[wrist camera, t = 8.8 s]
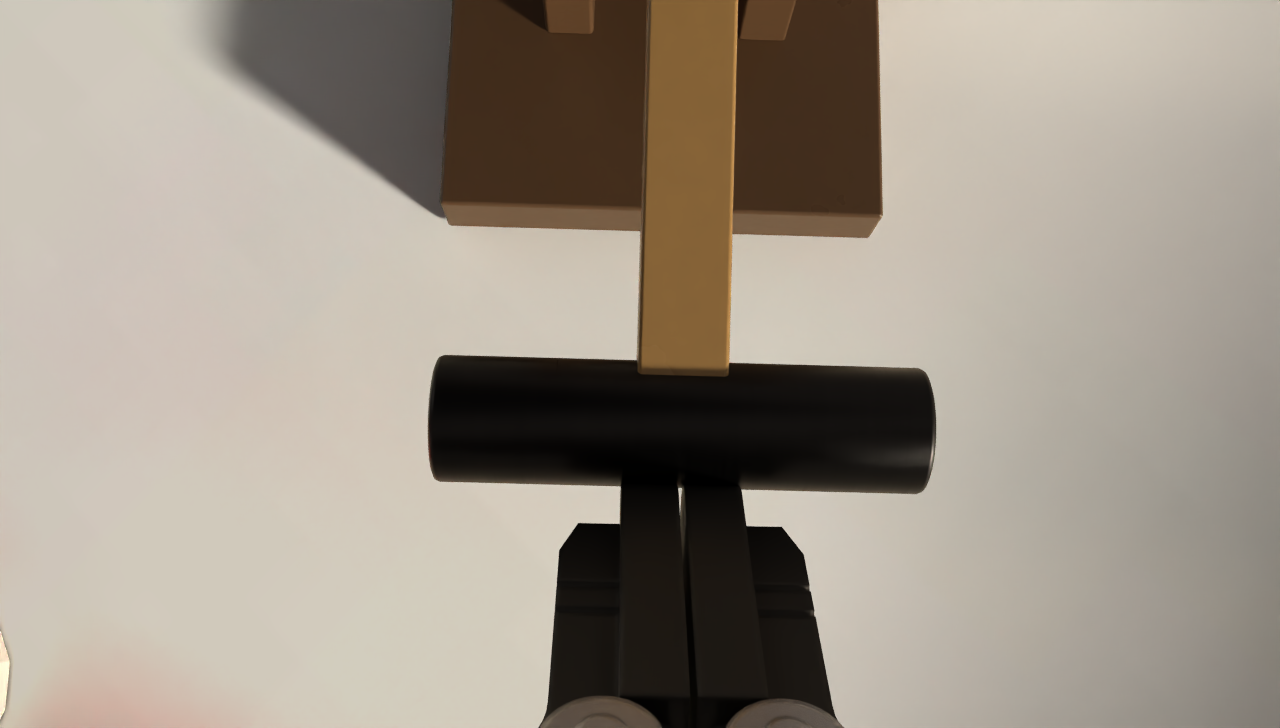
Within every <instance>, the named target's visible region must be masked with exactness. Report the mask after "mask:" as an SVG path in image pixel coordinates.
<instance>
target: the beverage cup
mask: <svg viewBox="0 0 1280 728" xmlns="http://www.w3.org/2000/svg"><path fill="white" fill-rule="evenodd" d="M9 666H10V660H9V657H8V654H7V651H6V647H5V644H4V641H3V637H2V634H1V631H0V719H1V717H2V715H3V713H4V711H5V706H6V696H7V686H8V676H9Z"/></svg>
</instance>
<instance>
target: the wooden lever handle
mask: <svg viewBox="0 0 1280 728" xmlns="http://www.w3.org/2000/svg"><path fill="white" fill-rule="evenodd" d="M737 28H738V0H647V7H646V44H645V80H644V117H643V153H642V190H641V226H640V263H639V299H638V336H637V360H605V359H570V358H534V357H498V356H462V355H443V356H441V357H439V358H438V360H437V362H436V365H435V367H434V371H433V375H432V381H431V388H430V397H429V410H428V450H429V461H430V467H431V471H432V474H433V477H434V479H436V480H438V481H440V482H478V483H516V484H554V485H592V486H621V484H657V485H678V488H682V487H683V485H715V486H740V487H741V489H745V490H783V491H822V492H860V493H898V494H917V493H920V492H922V491H923V490H924V489H925V487H926V486H927V483H928V481H929V478H930V475H931V471H932V467H933V462H934V456H935V446H936V410H935V401H934V395H933V391H932V387H931V383H930V380H929V378H928V376H927V374H926V373H925V372H924V371H923V370H921V369H919V368H892V367H856V366H820V365H785V364H749V363H729V350H730V310H731V270H732V230H733V189H734V149H735V109H736V68H737Z"/></svg>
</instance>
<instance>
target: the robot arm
mask: <svg viewBox="0 0 1280 728" xmlns="http://www.w3.org/2000/svg"><path fill="white" fill-rule="evenodd" d="M809 586H810V585H809V580H808V575H807V570H806V564H805V559H804V554H803V553H802V552H801V551H800V549H799V548H798V547H797V546H796V544H795V543H794V542H793V541H792V539H791V538H790V537H789V536H788V534H787V533H786V532H785V530H784V529H783V528H782V527H754V526H746V521H745V513H744V506H743V498H742V491H741V487H740V486H715V485H683V487H682V495H681V510H680V511H679V493H678V485H657V484H621V495H620V524H590V523H578V524H577V526H576V527H575V529H574V530H573V532H572V533H571V534H570V536H569V537H568V539H567V540H566V542H565V543H564V544H563V546H562V547H561V549H560V550H559V563H558V576H557V589H556V602H555V616H554V629H553V642H552V655H551V669H550V682H549V695H548V705H547V710H546V713H545V716H544V719H543V721H542V723H541V724H540V726H539V728H844V727H843V726H842V725H841V724H840V723H839V722H838V720H837V718H836V716H835V713H834V710H833V706H832V701H831V696H830V691H829V685H828V680H827V675H826V670H825V664H824V659H823V654H822V649H821V643H820V638H819V633H818V628H817V622H816V617H814V607H813V601H812V596H811V592H810V591H809Z"/></svg>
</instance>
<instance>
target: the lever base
mask: <svg viewBox="0 0 1280 728" xmlns="http://www.w3.org/2000/svg"><path fill="white" fill-rule="evenodd" d="M646 7H647V0H452V14H451V30H450V46H449V62H448V78H447V94H446V110H445V126H444V142H443V158H442V174H441V189H440V203H441V206H442V209H443V211H444V213H445V216H446V218H447V221H448V223H449V225H453V226H487V227H521V228H554V229H588V230H622V231H640V226H641V190H642V153H643V117H644V80H645V44H646ZM882 215H883V202H882V154H881V106H880V58H879V10H878V0H738V28H737V68H736V109H735V149H734V189H733V230H732V234H756V235H790V236H824V237H857V238H867V237H869V236H870V235H871V233H872V231H873V230H874V228H875V227H876V225H877V224H878V222H879V221H880V219H881V218H882Z"/></svg>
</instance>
